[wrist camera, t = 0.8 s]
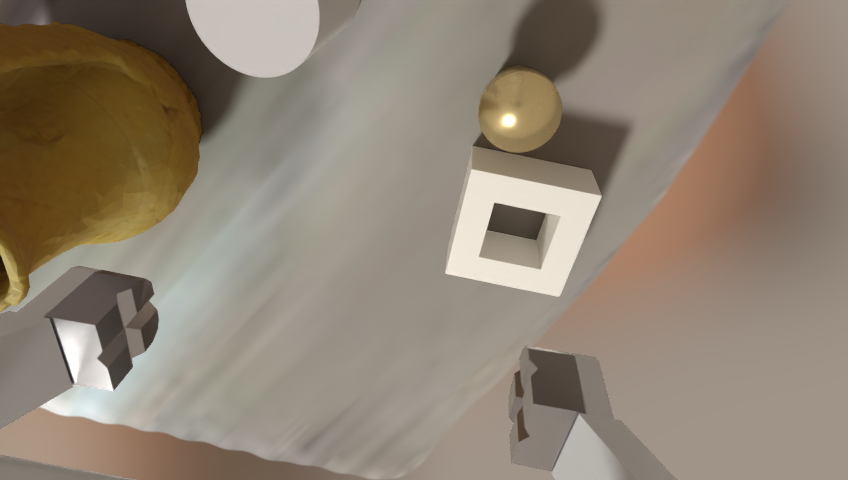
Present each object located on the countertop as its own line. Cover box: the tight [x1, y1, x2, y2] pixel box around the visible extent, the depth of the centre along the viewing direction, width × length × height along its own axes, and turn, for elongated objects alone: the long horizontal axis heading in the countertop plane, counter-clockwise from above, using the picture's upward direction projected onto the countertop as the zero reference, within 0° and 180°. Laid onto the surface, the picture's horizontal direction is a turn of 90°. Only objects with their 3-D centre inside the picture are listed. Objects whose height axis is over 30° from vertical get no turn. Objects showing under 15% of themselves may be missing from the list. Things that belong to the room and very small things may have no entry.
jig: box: [445, 146, 602, 297], centre depth 47 cm, size 11×11×5 cm
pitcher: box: [0, 21, 203, 312], centre depth 37 cm, size 17×19×25 cm
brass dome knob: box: [479, 65, 562, 153], centre depth 41 cm, size 6×6×6 cm
